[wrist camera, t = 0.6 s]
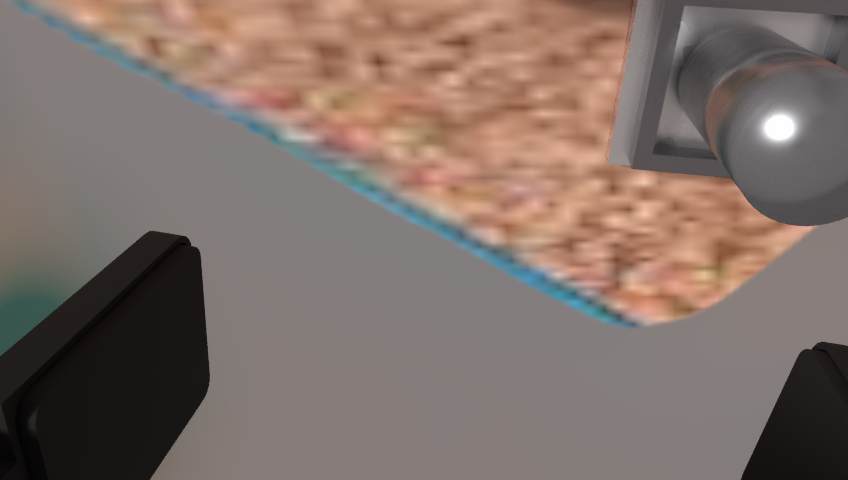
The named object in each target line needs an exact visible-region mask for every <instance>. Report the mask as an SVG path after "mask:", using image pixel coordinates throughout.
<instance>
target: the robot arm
mask: <svg viewBox="0 0 848 480" xmlns="http://www.w3.org/2000/svg"><path fill="white" fill-rule="evenodd" d="M209 381H210V373H209V360H208V346H207V334H206V320H205V307H204V294H203V280H202V268H201V256H200V252H199V249H197V247H193V246H191V243H190V241H189V239H188V238H187V237H186V236H181V235H174V234H169V233H162V232H156V231H149V232H147V233H146V234H144V235H143V236H142V237H141V238H140V239H139V240H137V241H136V242H135V243H134V244H133V245H131V246H130V247H129V248H128V249H127V250H126V251H124V252H123V253H122V254H121V255H120V256H119V257H117V258H116V259H115V260H114V261H113V262H111V263H110V264H109V265H108V266H107V267H105V268H104V269H103V270H102V271H101V272H100V273H99V274H97V275H96V276H95V277H94V278H92V279H91V280H90V281H89V282H88V283H87V284H85V285H84V286H83V287H82V288H81V289H79V290H78V291H77V292H76V293H75V294H74V295H72V296H71V297H70V298H69V299H68V300H66V301H65V302H64V303H63V304H62V305H61V306H59V307H58V308H57V309H56V310H55V311H53V312H52V313H51V314H50V315H49V316H48V317H46V318H45V319H44V320H43V321H42V322H40V323H39V324H38V325H37V326H36V327H35V328H33V329H32V330H31V331H30V332H29V333H27V334H26V335H25V336H24V337H23V338H22V339H21V340H19V341H18V342H17V343H16V344H14V345H13V346H12V347H11V348H10V349H9V350H7V351H6V352H5V353H4V354H3V355H2V356H0V480H150V479H151V477H152V475H153V474H154V473H155V471H156V470H157V468H158V467H159V465H160V464H161V462H162V461H163V459H164V457H165V456H166V455H167V453H168V451H169V450H170V449H171V447H172V446H173V444H174V443H175V441H176V440H177V438H178V437H179V435H180V434H181V432H182V431H183V429H184V428H185V426H186V425H187V423H188V422H189V420H190V419H191V417H192V416H193V414H194V413H195V411H196V410H197V409H198V407H199V405H200V404H201V402H202V401H203V399H204V398H205V396H206V393H207V390H208V387H209ZM741 480H848V346H845V345H839V344H833V343H827V342H820V343H817V344H816V345H815V346H814V347H813V348H812V350H810V349H805V350H803V351H802V352H801V353H800V354H799V356H798V357H797V359H796V362H795V364H794V366H793V368H792V370H791V372H790V375H789V377H788V379H787V381H786V383H785V385H784V387H783V389H782V392H781V394H780V396H779V398H778V400H777V402H776V404H775V407H774V408H773V411H772V413H771V415H770V417H769V419H768V422H767V423H766V426H765V428H764V430H763V432H762V434H761V436H760V438H759V441H758V443H757V445H756V447H755V449H754V451H753V454H752V456H751V458H750V460H749V462H748V464H747V466H746V468H745V471H744V473H743V475H742V478H741Z"/></svg>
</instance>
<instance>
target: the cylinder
mask: <svg viewBox="0 0 848 480" xmlns="http://www.w3.org/2000/svg"><path fill="white" fill-rule="evenodd" d="M678 92H679V99H680V103H681V106H682V108H683V110H684V112H685V113H686V115H687V116H688V118H689V119H690V121H691V122H692V123H693V125H694V126H695V128H696V129H697V130H698V132H699V133H700V135H701V136H702V137H703V139H704V140H705V142H706V143H707V144H708V146H709V147H710V149H711V150H712V151H713V153H714V154H715V156H716V157H717V158H718V160H719V161H720V163H721V164H722V165H723V167H724V168H725V170H726V171H727V172H728V174H729V175H730V177H731V178H732V179H733V181H734V182H735V184H736V185H737V186H738V188H739V189H740V191H741V192H742V193H743V195H744V196H745V197H746V199H747V200H748V202H749V203H750V204H751V205H752V206H753V207H754V208H755V209H756V210H758V211H759V212H760V213H761V214H763V215H765V216H767V217H768V218H770V219H773V220H775V221H777V222H781V223H785V224H789V225H796V226H814V225H822V224H827V223H831V222H835V221H838V220H841V219H843V218H846V217H848V71H847V70H845V69H843V68H841V67H839V66H837V65H835V64H833V63H832V62H830V61H828V60H826V59H824V58H822V57H820V56H818V55H817V54H815V53H813V52H811V51H809V50H807V49H805V48H804V47H802V46H800V45H798V44H796V43H794V42H792V41H790V40H789V39H787V38H785V37H783V36H781V35H779V34H777V33H775V32H774V31H772V30H769V29H767V28H764V27H760V26H754V25H740V26H733V27H730V28H726V29H724V30H721V31H719V32H717V33H715V34H713V35H711V36H710V37H708V38H707V39H705V40H704V41H703V42H702V43H700V44H699V45H698V46H697V47H696V48H695V49H694V51H693V52H692V53H691V54H690V56H689V57H688V59H687V61H686V62H685V64H684V66H683V69H682V71H681V75H680V78H679V87H678Z"/></svg>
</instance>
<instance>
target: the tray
mask: <svg viewBox="0 0 848 480" xmlns="http://www.w3.org/2000/svg"><path fill="white" fill-rule="evenodd" d="M740 25H754V26H760V27H764V28H767V29H769V30H772V31H774V32H775V33H777V34H779V35H781V36H783V37H785V38H787V39H789V40H790V41H792V42H794V43H796V44H798V45H800V46H802V47H804V48H805V49H807V50H809V51H811V52H813V53H815V54H817V55H818V56H820V57H822V58H824V59H826V60H828V61H830V62H832V63H833V64H835V65H837V66H839V67H841V68H843V69H845V70H847V71H848V0H634V1H633V6H632V12H631V18H630V23H629V29H628V34H627V40H626V45H625V51H624V56H623V62H622V67H621V73H620V78H619V84H618V89H617V95H616V100H615V106H614V112H613V117H612V123H611V128H610V134H609V139H608V145H607V150H606V159H607V163H608V164H615V165H626V166H631V168H632V169H639V170H650V171H661V172H672V173H683V174H694V175H705V176H716V177H727V178H731V177H730V175H729V174H728V172H727V171H726V170H725V168H724V167H723V165H722V164H721V163H720V161H719V160H718V158H717V157H716V156H715V154H714V153H713V151H712V150H711V149H710V147H709V146H708V144H707V143H706V142H705V140H704V139H703V137H702V136H701V135H700V133H699V132H698V130H697V129H696V128H695V126H694V125H693V123H692V122H691V121H690V119H689V118H688V116H687V115H686V113H685V112H684V110H683V108H682V106H681V103H680V99H679V92H678V87H679V78H680V75H681V71H682V69H683V66H684V64H685V62H686V61H687V59H688V57H689V56H690V54H691V53H692V52H693V51H694V49H695V48H696V47H697V46H698V45H699V44H700V43H702V42H703V41H704V40H705V39H707V38H708V37H710V36H711V35H713V34H715V33H717V32H719V31H721V30H724V29H726V28H730V27H733V26H740Z"/></svg>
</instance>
